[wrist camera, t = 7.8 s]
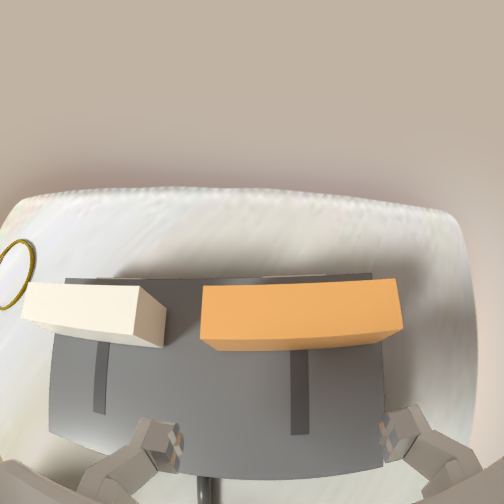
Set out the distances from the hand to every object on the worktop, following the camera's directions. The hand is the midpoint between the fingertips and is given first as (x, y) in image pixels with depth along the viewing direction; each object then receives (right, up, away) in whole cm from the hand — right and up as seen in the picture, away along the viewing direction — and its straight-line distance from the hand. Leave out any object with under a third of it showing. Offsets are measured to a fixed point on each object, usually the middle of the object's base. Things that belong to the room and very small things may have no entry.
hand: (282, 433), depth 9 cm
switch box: (-5, -7, +12) cm, 14 cm away
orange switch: (+2, +2, +9) cm, 10 cm away
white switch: (-13, +1, +11) cm, 17 cm away
